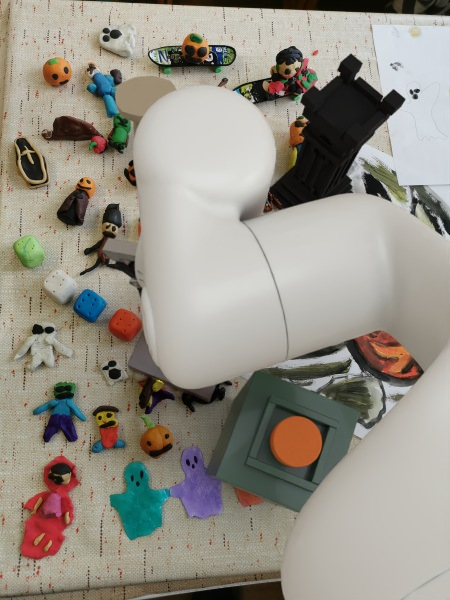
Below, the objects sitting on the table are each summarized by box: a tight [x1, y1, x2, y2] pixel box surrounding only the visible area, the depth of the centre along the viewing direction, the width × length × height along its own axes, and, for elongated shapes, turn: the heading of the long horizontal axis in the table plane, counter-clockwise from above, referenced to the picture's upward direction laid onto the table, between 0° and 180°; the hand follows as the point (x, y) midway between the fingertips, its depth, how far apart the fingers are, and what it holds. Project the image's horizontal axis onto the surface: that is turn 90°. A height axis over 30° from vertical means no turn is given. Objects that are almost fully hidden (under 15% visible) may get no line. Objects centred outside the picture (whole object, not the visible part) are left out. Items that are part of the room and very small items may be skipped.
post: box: [204, 369, 361, 514], centre depth 53 cm, size 9×9×22 cm
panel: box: [127, 329, 217, 403], centre depth 65 cm, size 14×10×3 cm
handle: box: [114, 75, 177, 138], centre depth 65 cm, size 5×6×15 cm
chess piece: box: [269, 53, 407, 209], centre depth 64 cm, size 8×8×20 cm
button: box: [270, 416, 322, 467], centre depth 41 cm, size 4×4×2 cm
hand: (195, 309), depth 55 cm, fingers open, 9 cm apart
